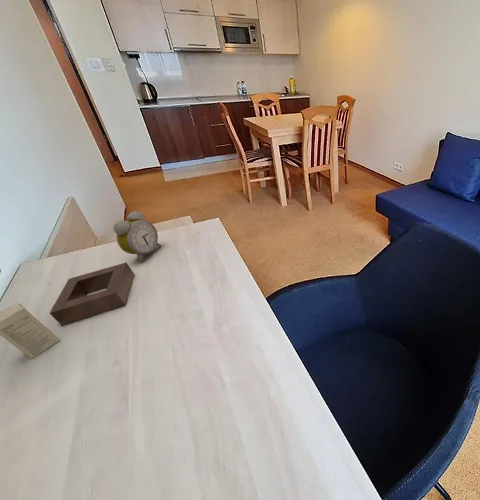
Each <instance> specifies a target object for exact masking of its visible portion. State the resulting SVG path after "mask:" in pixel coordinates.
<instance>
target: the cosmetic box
mask: <svg viewBox="0 0 480 500" xmlns="http://www.w3.org/2000/svg"><path fill="white" fill-rule="evenodd" d="M0 336H1V337H2V338H4V339H5V340H6V341H8V342H9V343H10V344H11V345H12V346H14V347H15V348H17V349H18V350H19V351H20V352H22V353H23V354H24V355H26V356H27V357H28V358H29V359H31V360H32V359H34V358H35V357H37V356H38V355H40V354H41V353H44V351H46V350H47V349H49V348H51V347H52V346H54V345H55V344H56V343H58V342H59V341H60V338H59V337H58V336H57V335H55V334H54V333H53V332H52V331H51V330H50V329H49V328H48V327H47V326H46V325H45V324H43V323H42V322H41V320H39V319H37V317H35V316H34V315H33V314H32V313H31V312H30V311H29V310H28V309H26V308H25V307H24V306H23V305H22V304H20V302H16V303H14V304H13V305H11V306H9V307H7V308H6V309H4V310H2V311H0Z"/></svg>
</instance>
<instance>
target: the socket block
mask: <svg viewBox="0 0 480 500" xmlns="http://www.w3.org/2000/svg"><path fill="white" fill-rule="evenodd" d="M134 278H135V273H134V271H133V270H132V268H131V267H130V265H129V264H128V262H123V263H119V264H116V265H112V266H109V267H104V268H101V269H98V270H94V271H90V272H87V273H84V274H80V275H77V276H73V277H70V278H68V279H67V282H66V283H65V284H64V286H63V288H62V290H61V292H60V294H59V295H58V297H57V299H56V301H55V303H54V304H53V306H52V308H51V310H50V311H49V315H50V316H51V317H52V318H53V319H54V320H55V321H56V322H57V323H58V324H59V325H60V326H61V327H63V326H66V325H69V324H72V323H75V322H79V321H83V320H85V319H88V318H91V317H94V316H97V315H100V314H103V313H107V312H111V311H113V310H116V309H119V308H122V307H126V306H127V303H128V300H129V296H130V292H131V288H132V286H133V281H134ZM104 289H105V290H104ZM100 290H101V291H100ZM97 291H98V292H97ZM91 293H92V294H91Z"/></svg>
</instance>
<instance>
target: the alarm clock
mask: <svg viewBox="0 0 480 500" xmlns="http://www.w3.org/2000/svg"><path fill="white" fill-rule="evenodd" d="M145 219H146V217H145V215H144V214H143V213H141V212H139V211H137V210H134V211H132V212H130V213H129V214H128V215H127V216H126V220H119V221H116V222H115V223H114V225H113V228H112V229H113V231H114V233H115V234H116V242H117V244H118V246H119V248H120V249H121V250H122V251H123V252H124V253H127V254H131V255H137V258H138V261H139V263H143V262H144V255H147V254H150V253H151V252H152V251H153V250H155V248H156V247H159V248H160V247H161V246H162V245H161V244H160V243H159V242H158V240H159V235H158V231H157V228H156V227H155V225H154V224H153V223H152V222H150V221H148V220H147V219H146V220H145Z"/></svg>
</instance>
